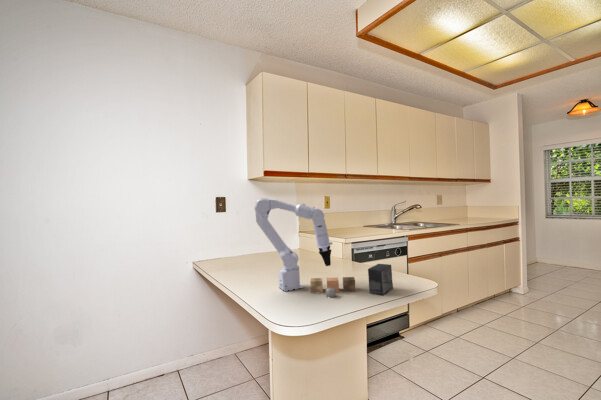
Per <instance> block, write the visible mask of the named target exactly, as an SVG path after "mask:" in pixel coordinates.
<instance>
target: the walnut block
mask: <svg viewBox="0 0 601 400" xmlns="http://www.w3.org/2000/svg"><path fill="white" fill-rule="evenodd" d="M342 286H343V287H342V289H343V292H344V293H349V292H350V293H351V292H354V293H356V289H357V288H356V279H355V277H354V276H343V277H342Z"/></svg>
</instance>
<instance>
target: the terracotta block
mask: <svg viewBox="0 0 601 400" xmlns="http://www.w3.org/2000/svg"><path fill="white" fill-rule="evenodd" d="M326 288H335V290H336V293H340V285H339V277H326Z"/></svg>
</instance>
